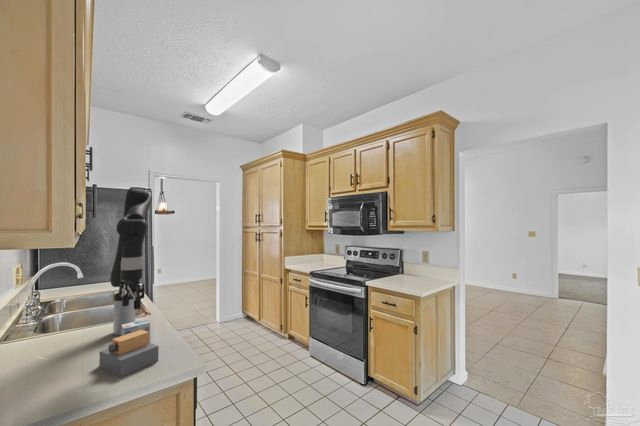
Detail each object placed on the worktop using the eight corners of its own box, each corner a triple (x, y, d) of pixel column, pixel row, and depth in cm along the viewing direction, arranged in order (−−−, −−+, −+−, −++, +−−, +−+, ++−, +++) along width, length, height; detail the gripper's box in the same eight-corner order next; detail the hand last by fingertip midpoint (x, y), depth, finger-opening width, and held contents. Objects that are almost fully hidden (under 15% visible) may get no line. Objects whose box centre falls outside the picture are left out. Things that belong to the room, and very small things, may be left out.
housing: (141, 341, 123) (141, 329, 123) (148, 344, 120) (148, 332, 120) (106, 353, 111) (106, 340, 111) (113, 357, 109) (114, 343, 109)
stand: (99, 366, 113) (99, 351, 114) (136, 352, 126) (136, 338, 126) (121, 376, 106) (121, 360, 106) (158, 360, 118) (158, 345, 118)
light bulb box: (146, 341, 137) (147, 318, 138) (150, 345, 133) (151, 322, 133) (120, 348, 130) (120, 324, 130) (123, 353, 125) (123, 328, 125)
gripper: (151, 267, 117) (150, 307, 117) (132, 265, 124) (131, 302, 124) (131, 270, 111) (130, 312, 111) (112, 267, 118) (111, 307, 118)
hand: (131, 307), depth 117 cm, fingers open, 8 cm apart
